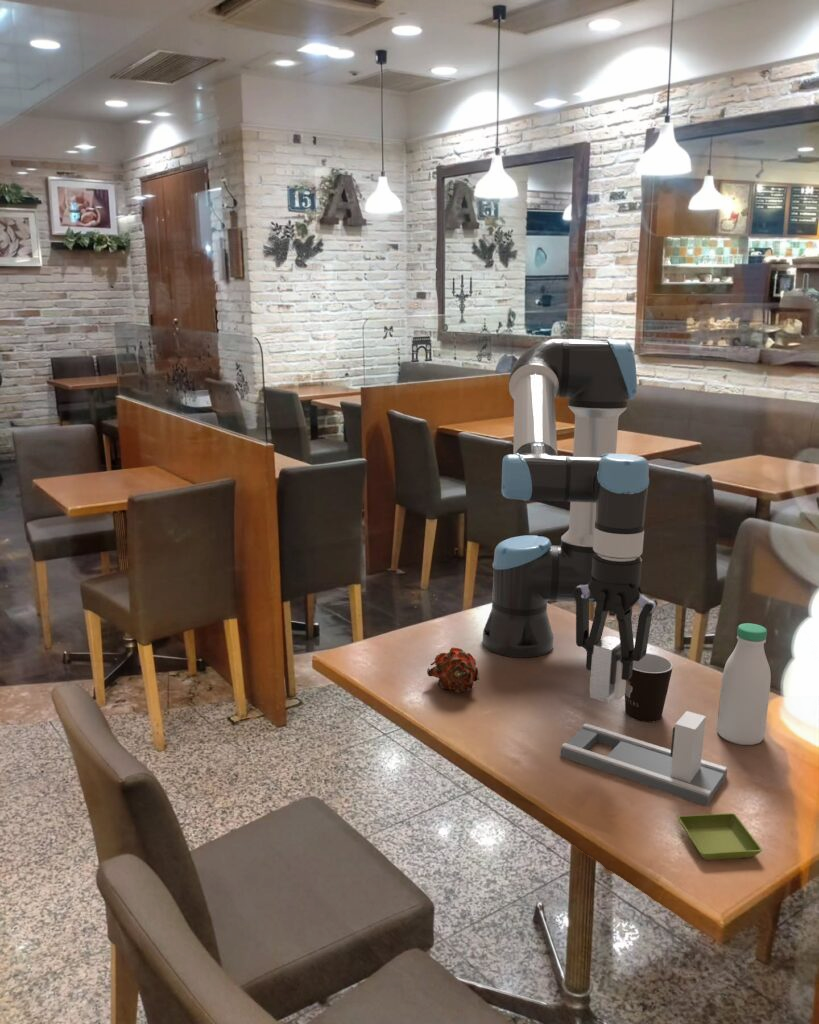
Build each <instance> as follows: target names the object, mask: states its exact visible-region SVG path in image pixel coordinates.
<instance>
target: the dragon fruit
mask: <svg viewBox="0 0 819 1024" xmlns="http://www.w3.org/2000/svg"><path fill="white" fill-rule="evenodd" d="M434 664H435V666H433V665H434ZM476 665H477V662H476V659H475V658H474V657H473V655H472V654H471V653H469V652H468V653H466V651H464V650H463V649H461V648H458V647H454V646H453V647H451V648H450V649H449V652H440V653H439V654H437V655H436V657H434V661H433V662H432V663H431V664H430V666H433V667H432V668H430V667H429V668H427V669H426V674H427V676H429V677H435V678H436V679H438V683H437V686H439V687H440V688H441V689H443V690H445V689H447V690H448V689H449V690H450V691H451V692H453V693H454V692H455V693H463V692H464V691H466V692H468V691H470V690H472V689H473V686H474V682H477V681H478V680H480V675H479V670H478V669H479V668H478V667H477V666H476Z"/></svg>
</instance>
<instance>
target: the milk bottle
mask: <svg viewBox="0 0 819 1024" xmlns="http://www.w3.org/2000/svg"><path fill="white" fill-rule="evenodd" d="M736 633H737V636H736V639H737V643H736V645H735V648H734V649H733V651H732V653H731V654H730V655H729V657H728V659H727V660H726V662H725V665H724V668H723V674H722V679H721V686H720V696H719V705H718V713H717V721H716V722H717V723H716V730H717V734H718V735H719V736H720V737H721V738H723V739H724V740H725V741H728V742H730V743H732V744H736V745H741V746H754V745H758V744H760V743H761V742H763V740H764V738H765V733H766V732H765V731H766V724H767V716H768V708H769V700H770V692H771V682H772V681H771V680H772V679H771V677H772V676H771V675H772V673H771V669H770V668H771V667H770V664H769V661H768V658H767V656H766V653H765V645H764V644H766V642H767V635H768V630H767V628H766V627H764V626H762V625H759V624H756V623H751V622H750V623H749V622H747V623H746V622H744V623H741V624H739V625H738V626H737V630H736Z"/></svg>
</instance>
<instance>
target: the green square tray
mask: <svg viewBox="0 0 819 1024" xmlns="http://www.w3.org/2000/svg"><path fill="white" fill-rule="evenodd" d="M677 820H678V822H679V824H680V825H681V827H682V828H683V830H684V832H685V833H686V835H687V836H688V837H689V839H690V841H691V842H692V843H693V845H694V847H695V848H696V849H697V851H698V853H699V854H700V856H701V857H702V858H703V859H704V860H707V861H708V859H709V860H721V859H722V860H725V859H726V858H727V859H741V858H742V857H746V858H752V857H755V856H757V855H758V854H760V853H762V852H763V849H762V847H761V845H759V843H758V842H757V840H756V839H755V838H754V837H753V835H752V834H751V833H750V831H749V830H748V828H746V826H745V825H744V824H743V822H742V821H741V819H739V817H738V815H737V814H736V813H733V812H732V813H731V812H730V813H712V814H710V813H709V814H695V815H693V814H690V815H678V816H677ZM742 859H743V858H742Z"/></svg>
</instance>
